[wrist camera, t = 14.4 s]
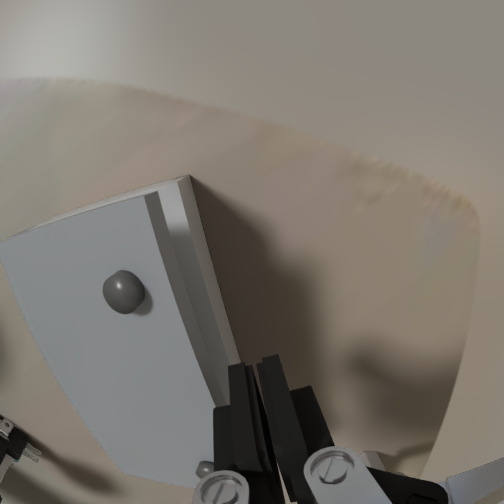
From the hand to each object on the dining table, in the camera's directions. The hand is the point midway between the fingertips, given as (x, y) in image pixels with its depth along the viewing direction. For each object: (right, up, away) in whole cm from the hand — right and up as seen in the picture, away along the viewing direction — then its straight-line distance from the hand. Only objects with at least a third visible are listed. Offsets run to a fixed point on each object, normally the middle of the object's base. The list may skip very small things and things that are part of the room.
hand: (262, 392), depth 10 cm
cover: (-5, -1, +2) cm, 6 cm away
